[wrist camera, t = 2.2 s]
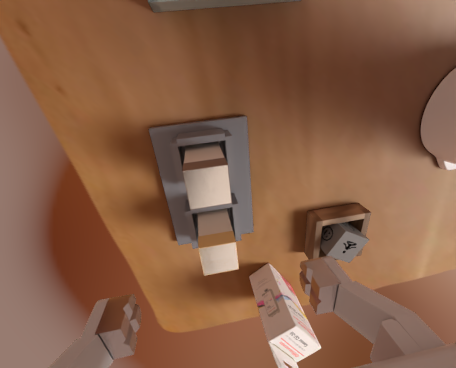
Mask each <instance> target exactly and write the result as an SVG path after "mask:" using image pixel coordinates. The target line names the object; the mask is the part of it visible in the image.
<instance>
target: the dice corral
mask: <svg viewBox="0 0 456 368" xmlns="http://www.w3.org/2000/svg"><path fill="white" fill-rule="evenodd" d="M370 215H371V212H370V211H369V210H367V209H366V208H365V207H363V206H362V205H360V204H359V203H354V204H348V205H342V206H336V207H330V208H324V209H319V210H313V211H307V224H306V237H305V250H304V253H305V254H306V256H307V257H308V259H309V260H310V259H315V258H321V257H326V256H327V255H326V254H325V253H324V252H323V250H322V249H321V248H320V242H321V233H322V226H326V225H331V224H337V223H342V222H348V221H349V222H350V223H351V224H352V225H353V226H355V227H356V228H357V229H358V230H359V231H360V232H361V233H362V234H363V235H365V236H366V233H367V228H368V224H369V220H370ZM362 250H363V248H362V249H361V250H360V251H359V252H358V254H357V255H356V256H360V255H361V254H362ZM334 259H335V260H339V259H336V258H334Z"/></svg>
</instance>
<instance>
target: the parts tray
mask: <svg viewBox="0 0 456 368" xmlns="http://www.w3.org/2000/svg"><path fill="white" fill-rule="evenodd" d="M292 1H301V0H148V3H149V5H150V7H151V8H152V10H153V12H166V11H178V10H191V9H204V8H216V7H229V6H242V5H254V4H267V3H279V2H292Z"/></svg>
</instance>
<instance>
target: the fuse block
mask: <svg viewBox="0 0 456 368" xmlns="http://www.w3.org/2000/svg"><path fill="white" fill-rule="evenodd" d="M149 133H150V137H151V141H152V144H153V148H154V152H155V156H156V160H157V164H158V168H159V172H160V175H161V179H162V183H163V187H164V191H165V195H166V199H167V203H168V207H169V210H170V214H171V218H172V222H173V226H174V230H175V234H176V238H177V241H178V245H182V244H188V243H192V247H193V249H195V248H198V213H199V212H206V211H212V210H218V209H224V208H227V212H228V215H229V219H230V223H231V227H232V230H233V232H234V236H235V240H236V241H240V240H241V234H245V233H251V232H253V214H252V197H251V179H250V162H249V144H248V126H247V116H237V117H229V118H221V119H213V120H205V121H197V122H189V123H181V124H173V125H165V126H157V127H150V128H149ZM216 141H218V143H219V146H220V148H221V151H222V153H223V155H224V158H225V159H226V161H227V163H228V169H229V179H230V189H231V198H232V203H231V204H225V205H218V206H212V207H206V208H200V209H194V210H190V206H189V201H188V196H187V191H186V187H185V182H184V177H183V172H182V169H183V163H184V158H185V149H186V145H194V144H201V143H209V142H216Z"/></svg>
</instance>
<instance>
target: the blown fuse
mask: <svg viewBox="0 0 456 368" xmlns="http://www.w3.org/2000/svg"><path fill="white" fill-rule="evenodd" d="M182 172H183V177H184V182H185V187H186V191H187V196H188V201H189V206H190V210H194V209H200V208H206V207H212V206H218V205H225V204H231V203H232V198H231V189H230V179H229V169H228V163H227V161H226V159H225V158H224V155H223V153H222V151H221V148H220V146H219V143H218V141H216V142H209V143H201V144H194V145H186V149H185V158H184V163H183V169H182Z"/></svg>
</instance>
